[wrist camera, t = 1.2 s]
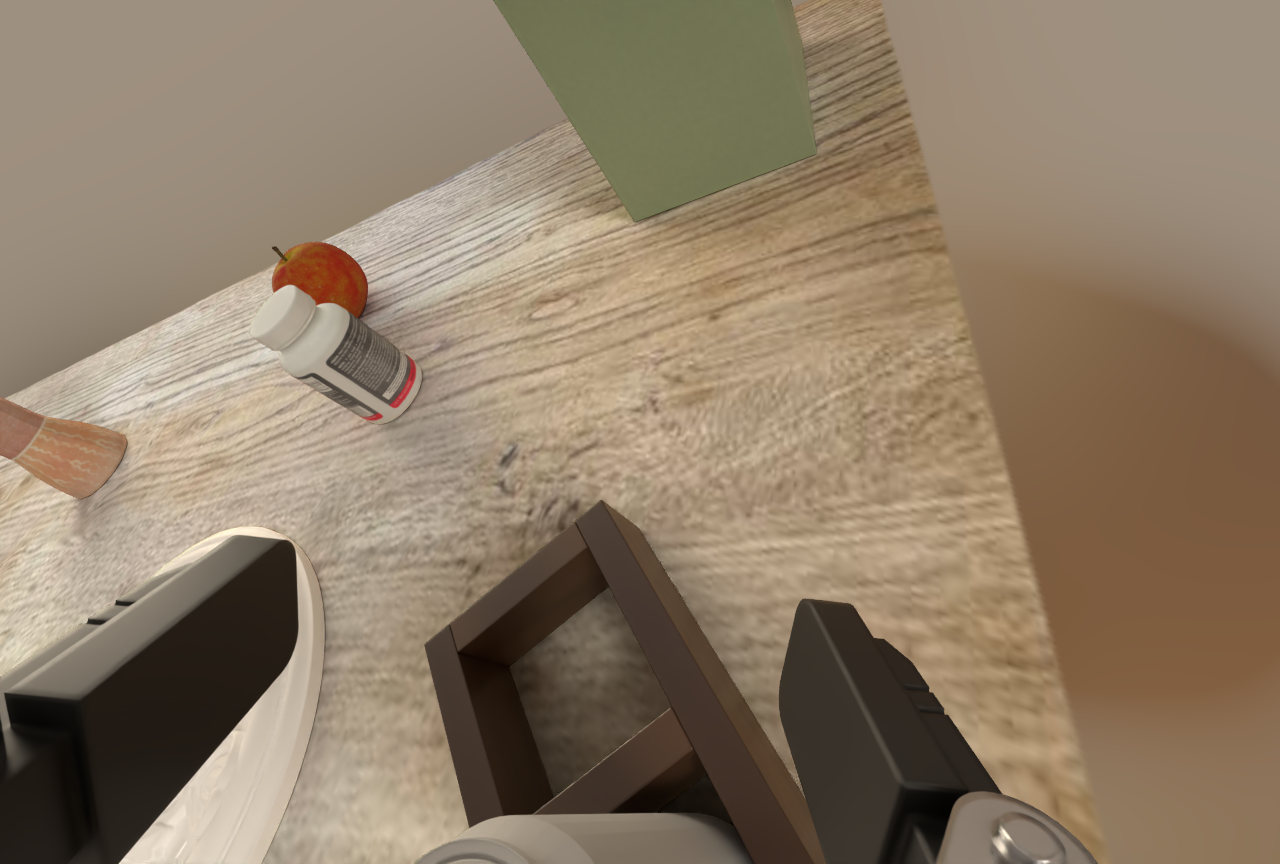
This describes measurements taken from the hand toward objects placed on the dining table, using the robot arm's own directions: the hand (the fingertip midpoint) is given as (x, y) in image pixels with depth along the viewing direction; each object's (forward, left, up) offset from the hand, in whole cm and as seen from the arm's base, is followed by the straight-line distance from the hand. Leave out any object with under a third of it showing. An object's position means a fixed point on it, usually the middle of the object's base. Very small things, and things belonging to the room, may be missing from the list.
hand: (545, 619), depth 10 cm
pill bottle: (+11, -33, -16) cm, 38 cm away
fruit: (+13, -47, -16) cm, 51 cm away
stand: (-18, -31, -15) cm, 39 cm away
